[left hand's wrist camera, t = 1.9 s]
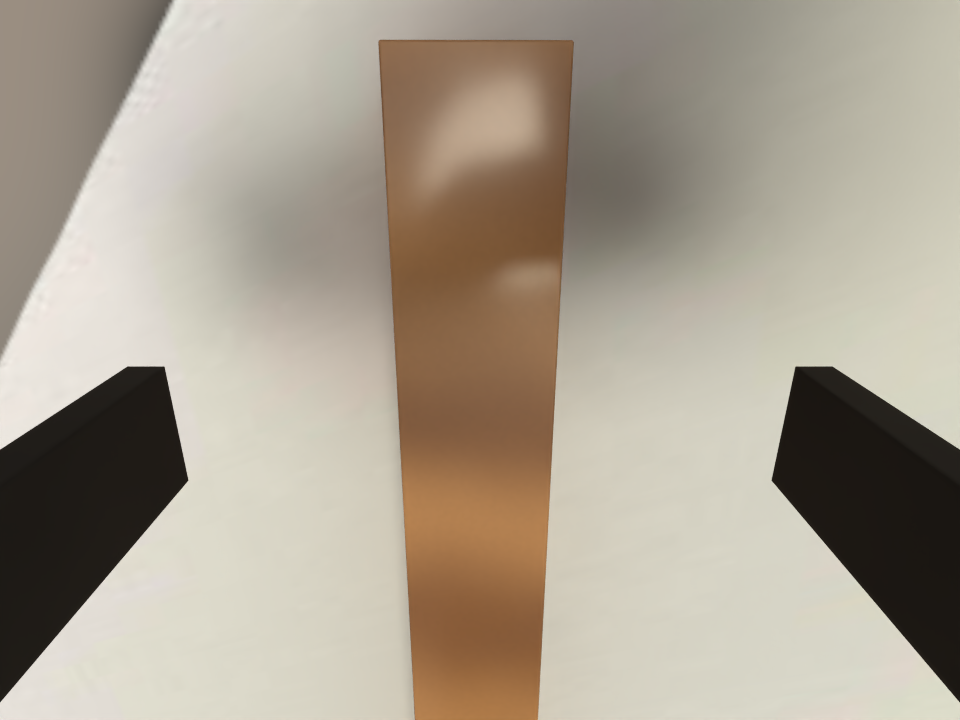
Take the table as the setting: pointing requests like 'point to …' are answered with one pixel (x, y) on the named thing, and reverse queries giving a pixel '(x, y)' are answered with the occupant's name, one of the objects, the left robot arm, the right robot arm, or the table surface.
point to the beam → (476, 354)
